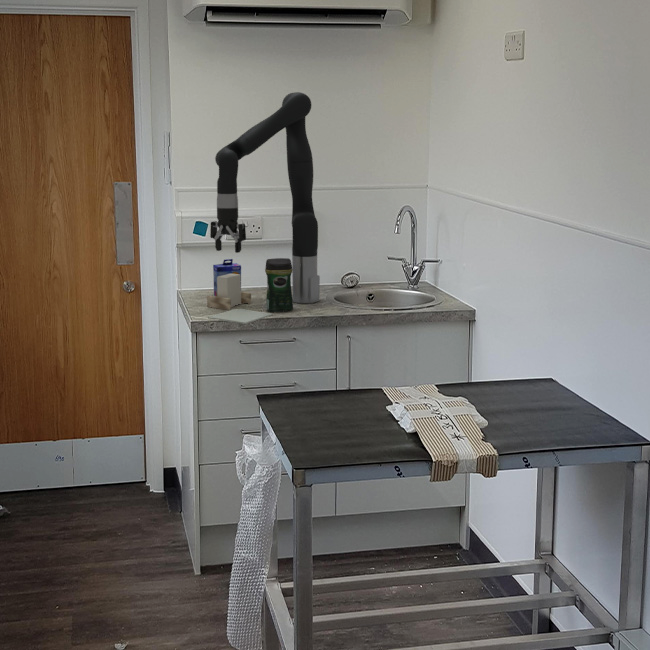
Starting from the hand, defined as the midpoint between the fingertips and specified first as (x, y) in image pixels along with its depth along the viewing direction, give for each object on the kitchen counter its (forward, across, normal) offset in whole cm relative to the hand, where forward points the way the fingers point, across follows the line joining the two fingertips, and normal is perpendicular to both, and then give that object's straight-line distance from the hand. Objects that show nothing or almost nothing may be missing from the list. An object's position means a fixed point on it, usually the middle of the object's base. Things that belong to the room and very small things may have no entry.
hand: (228, 251), depth 340 cm
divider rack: (+20, 0, 0) cm, 20 cm away
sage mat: (+20, -15, +13) cm, 28 cm away
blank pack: (+20, 0, 0) cm, 20 cm away
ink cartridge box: (+20, +11, -13) cm, 26 cm away
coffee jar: (+20, -20, -3) cm, 28 cm away
